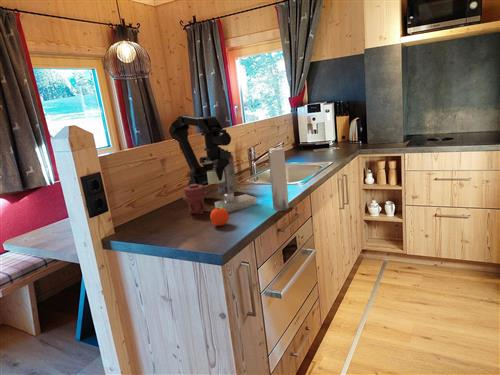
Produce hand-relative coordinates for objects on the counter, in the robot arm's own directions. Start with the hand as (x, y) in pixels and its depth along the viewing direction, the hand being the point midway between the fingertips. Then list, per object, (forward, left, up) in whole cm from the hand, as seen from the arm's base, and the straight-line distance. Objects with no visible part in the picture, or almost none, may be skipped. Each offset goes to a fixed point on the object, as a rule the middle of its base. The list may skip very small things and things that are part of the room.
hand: (216, 179), depth 164 cm
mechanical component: (+5, -14, -11) cm, 19 cm away
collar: (0, 0, -1) cm, 1 cm away
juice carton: (-13, +12, -11) cm, 21 cm away
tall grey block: (+30, +13, -11) cm, 34 cm away
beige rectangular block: (+12, +2, -11) cm, 16 cm away
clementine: (+28, -14, -11) cm, 33 cm away
